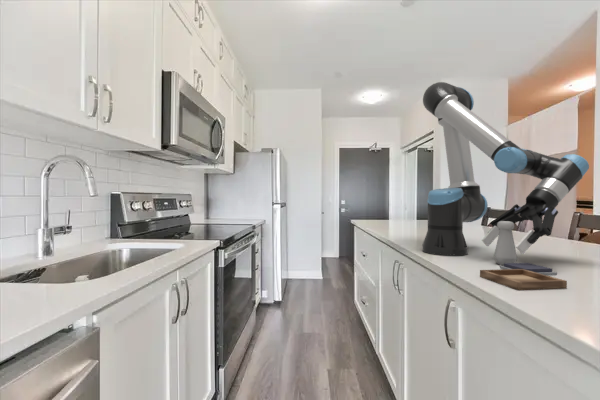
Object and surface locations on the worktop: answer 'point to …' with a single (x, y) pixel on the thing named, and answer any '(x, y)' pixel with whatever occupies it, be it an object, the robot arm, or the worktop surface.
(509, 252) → the salt shaker
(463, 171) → the robot arm
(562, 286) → the tray
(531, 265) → the ink pad
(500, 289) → the worktop surface
